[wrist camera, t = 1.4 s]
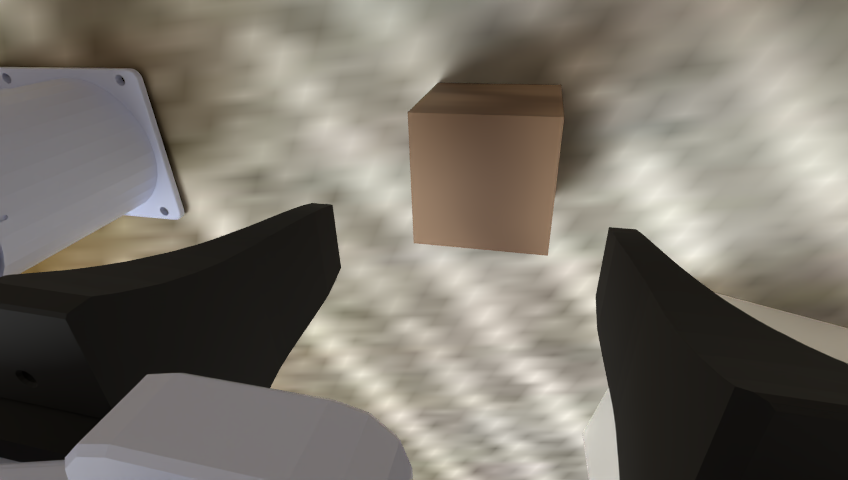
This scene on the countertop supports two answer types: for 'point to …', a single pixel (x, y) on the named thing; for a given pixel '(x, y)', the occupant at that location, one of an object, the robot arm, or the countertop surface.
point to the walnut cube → (485, 165)
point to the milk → (803, 329)
